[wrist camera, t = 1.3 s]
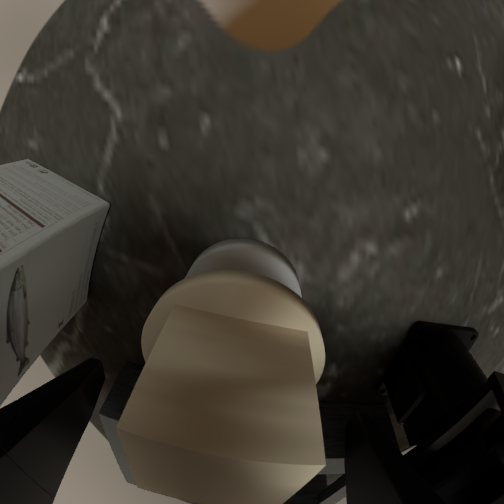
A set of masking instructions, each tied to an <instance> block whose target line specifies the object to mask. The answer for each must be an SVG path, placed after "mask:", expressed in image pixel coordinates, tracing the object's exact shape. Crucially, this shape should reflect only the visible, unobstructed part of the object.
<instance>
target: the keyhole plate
mask: <svg viewBox="0 0 504 504" xmlns="http://www.w3.org/2000/svg"><path fill="white" fill-rule="evenodd" d="M142 370H143V367H140V366H137V365H134V364H130V363H127V362H125V364H124V366H123V368H122V370H121V372H120V373H119V375H118V377H117V379H116V381H115V383H114V385H113V387H112V388H111V390H110V392H109V394H108V396H107V398H106V400H105V402H104V404H103V406H102V408H101V410H100V412H99V416H100V419H101V422H102V425H103V428H104V430H105V433H106V436H107V438H108V441H109V443H110V446H111V448H112V451H113V453H114V455H115V458H116V460H117V462H118V464H119V466H120V469H121V471H122V473H123V475H124V477H125V479H126V481H127V482H128V483H131V484H134V485H136V482H135V480H134V477H133V475H132V472H131V470H130V467H129V465H128V462H127V459H126V456H125V453H124V451H123V448H122V445H121V442H120V439H119V435H118V432H117V429H116V427H117V424H118V422H119V420H120V418H121V415H122V413H123V411H124V409H125V406H126V404H127V402H128V400H129V398H130V395H131V393H132V391H133V389H134V387H135V385H136V383H137V380H138V378H139V376H140V374H141V372H142ZM318 403H319V411H320V418H321V426H322V434H323V442H324V451H325V460H326V466H325V467H324V468H323V469H322V470H321V471H320V472H318V473H317V474H316V475H315V476H314V477H313V478H312V479H311V480H310V481H309V482H308V483H307V484H305V485H304V486H303V487H302V488H301V489H300V490H299V491H297V492H296V493H295V494H294V495H293V496H291V497H290V498H289V499H288V500H287V501H285V502H284V503H283V504H335V503H337V502H338V501H340V500H341V499H343V498H344V497H346V482H345V468H344V452H345V427H346V424H347V422H348V421H349V420H350V419H351V417H352V416H353V415H354V413H356V412H367V413H368V414H369V415H370V416H371V417H372V419H373V420H374V421H375V422H376V423H377V425H378V426H379V427H380V428H381V430H382V431H383V432H384V433H385V434H386V436H387V437H388V438H389V439H390V440H391V442H392V443H393V444H394V445H395V446H396V448H397V449H398V450H399V446H398V443H397V440H396V436H395V433H394V430H393V426H392V423H391V420H390V417H389V414H388V411H387V408H386V405H385V404H350V403H332V402H319V401H318ZM399 451H400V450H399ZM326 474H343V475H342V476H341V477H340V478H338V479H337V480H336V481H335V482H333V483H332V484H331V485H330V486H328V487H327V480H326Z"/></svg>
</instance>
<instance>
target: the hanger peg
mask: <svg viewBox="0 0 504 504" xmlns="http://www.w3.org/2000/svg"><path fill="white" fill-rule="evenodd" d="M141 346H142V353H143V356H144V360H145V362H146V364H145V366H144V368H143V370H142V372H141V374H140V376H139V378H138V380H137V383H136V385H135V387H134V389H133V391H132V393H131V395H130V398H129V400H128V402H127V404H126V406H125V409H124V411H123V413H122V415H121V418H120V420H119V422H118V424H117V427H116V429H117V432H118V435H119V439H120V442H121V445H122V448H123V451H124V453H125V456H126V459H127V462H128V465H129V467H130V470H131V472H132V475H133V477H134V480H135V482H136V485H137V487H138V488H141V489H144V490H148V491H151V492H154V493H158V494H162V495H165V496H169V497H173V498H177V499H181V500H186V501H190V502H195V503H200V504H283V503H284V502H285V501H287V500H288V499H289V498H290V497H291V496H293V495H294V494H295V493H296V492H297V491H299V490H300V489H301V488H302V487H303V486H304V485H305V484H307V483H308V482H309V481H310V480H311V479H312V478H313V477H314V476H315V475H316V474H317V473H318V472H320V471H321V470H322V469H323V468H324V467H325V466H326V460H325V451H324V442H323V434H322V426H321V418H320V411H319V403H318V396H317V389H316V384H317V382H318V381H319V379H320V377H321V375H322V372H323V369H324V365H325V349H324V343H323V339H322V334H321V330H320V326H319V323H318V320H317V318H316V316H315V315H314V313H313V311H312V309H311V308H310V307H309V306H308V304H307V303H306V302H305V301H304V300H303V299H302V296H301V291H300V285H299V280H298V276H297V273H296V271H295V269H294V267H293V265H292V264H291V263H290V261H289V260H288V259H287V258H286V257H285V256H284V255H283V254H282V253H281V252H280V251H279V250H277V249H276V248H274V247H272V246H271V245H269V244H266V243H264V242H261V241H258V240H254V239H247V238H235V239H228V240H224V241H221V242H218V243H215V244H213V245H212V246H210V247H208V248H207V249H205V250H204V251H203V252H202V253H201V254H200V255H199V256H198V257H197V258H196V260H195V261H194V262H193V264H192V266H191V268H190V270H189V271H188V273H187V275H186V277H185V279H183V280H181V281H179V282H177V283H176V284H174V285H173V286H172V287H170V288H169V289H168V290H167V291H166V292H165V293H164V294H163V295H162V296H161V297H160V299H159V300H158V302H157V303H156V305H155V306H154V308H153V309H152V311H151V313H150V314H149V316H148V318H147V320H146V322H145V324H144V327H143V331H142V337H141Z"/></svg>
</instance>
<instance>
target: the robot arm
mask: <svg viewBox="0 0 504 504" xmlns="http://www.w3.org/2000/svg"><path fill="white" fill-rule="evenodd" d="M420 329H421V330H420ZM419 330H420V331H419ZM477 337H478V332H477V331H476V330H475V329H472V328H463V327H455V326H447V325H440V324H433V323H425V322H419V323H417V324H415V325H414V327H413V328H412V330H411V331H410V333H409V335H408V337H407V339H406V340H405V342H404V344H403V345H402V347H401V349H400V350H399V352H398V354H397V355H396V357H395V359H394V360H393V362H392V363H391V365H390V366H389V368H388V370H387V371H386V373H385V374H384V376H383V377H382V379H381V380H380V382H379V383H378V385H377V386H376V388H375V391H376V394H377V395H379V396H389V398H390V401H391V404H392V407H393V410H394V412H395V415H396V418H397V421H398V423H399V424H403V427H404V430H405V433H406V436H407V439H408V442H409V445H410V446H415V445H417V446H416V447H414V448H413V449H412V450H410V451H409V452H407V453H406V454H405V455H402V454H401V452H400V451H399V450H398V449H397V448H396V446H395V445H394V444H393V443H392V442H391V440H390V439H389V438H388V437H387V436H386V434H385V433H384V432H383V431H382V430H381V428H380V427H379V426H378V425H377V423H376V422H375V421H374V420H373V419H372V417H371V416H370V415H369V414H368V413H367V412H356V413H354V415H353V416H352V417H351V419H350V420H349V421H348V422H347V424H346V427H345V452H344V468H345V482H346V498H347V504H504V374H502V373H499V372H496V371H494V372H493V373H492V374H491V375H490V376H489V378H488V379H487V378H486V376H485V375H484V373H483V371H482V370H481V368H480V367H479V365H478V364H477V362H476V361H475V360H474V358H473V357H472V355H471V354H470V352H469V350H470V348H471V347H472V345H473V344H474V342H475V340H476V339H477ZM104 380H105V375H104V370H103V365H102V362H101V361H100V360H97V359H94V358H89V359H87V360H86V361H84V362H82V363H80V364H79V365H77V366H75V367H73V368H72V369H70V370H68V371H66V372H65V373H63V374H61V375H60V376H58V377H56V378H54V379H53V380H51V381H49V382H47V383H46V384H44V385H42V386H41V387H39V388H37V389H35V390H33V391H32V392H30V393H28V394H26V395H25V396H23V397H21V398H19V399H18V400H16V401H14V402H12V403H10V404H8V405H6V406H4V407H3V408H1V409H0V504H52V503H53V501H54V498H55V496H56V493H57V491H58V488H59V486H60V484H61V481H62V479H63V477H64V474H65V472H66V470H67V467H68V465H69V463H70V461H71V458H72V456H73V454H74V452H75V449H76V447H77V445H78V443H79V441H80V439H81V437H82V435H83V433H84V431H85V428H86V427H87V424H88V422H89V420H90V418H91V416H92V414H93V411H94V408H95V405H96V402H97V400H98V397H99V394H100V391H101V389H102V386H103V383H104Z"/></svg>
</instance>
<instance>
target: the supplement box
mask: <svg viewBox="0 0 504 504" xmlns="http://www.w3.org/2000/svg"><path fill="white" fill-rule="evenodd" d="M109 206H110V204H109V203H108V202H106V201H105V200H103V199H101V198H99V197H98V196H96V195H94V194H92V193H90V192H88V191H86V190H85V189H83V188H81V187H79V186H77V185H76V184H74V183H72V182H70V181H68V180H66V179H65V178H63V177H61V176H59V175H57V174H55V173H54V172H52V171H50V170H48V169H46V168H44V167H43V166H41V165H39V164H37V163H35V162H33V161H31V160H29V159H26V160H21V161H17V162H12V163H8V164H4V165H0V406H1V404H2V403H3V402H4V400H5V399H6V398H7V396H8V395H9V393H10V392H11V391H12V389H13V388H14V387H15V385H16V384H17V383H18V382H19V380H20V379H21V378H22V376H23V375H24V374H25V372H26V371H27V370H28V369H29V368H30V366H31V365H32V364H33V363H34V361H35V360H36V359H37V358H38V357H39V355H40V354H41V353H42V352H43V350H44V349H45V348H46V347H47V346H48V345H49V343H50V342H51V341H52V340H53V339H54V337H55V336H56V335H57V334H58V333H59V332H60V331H61V330H62V328H63V327H64V326H65V325H66V324H67V323H68V322H69V321H70V319H71V318H72V317H73V316H74V315H75V314H76V313H77V312H78V310H79V309H80V308H81V307H82V306H83V305H84V304H85V303H86V301H87V294H88V287H89V280H90V275H91V269H92V265H93V260H94V256H95V252H96V248H97V245H98V241H99V237H100V234H101V230H102V227H103V224H104V221H105V218H106V215H107V212H108V209H109Z"/></svg>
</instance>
